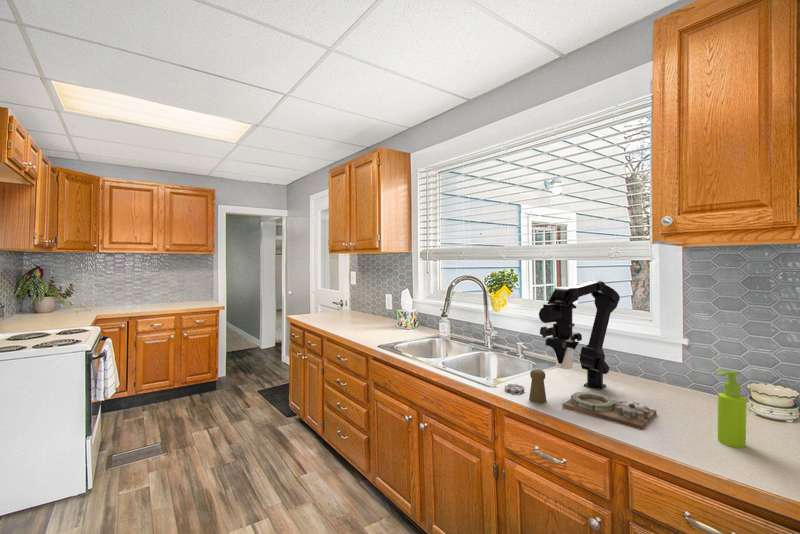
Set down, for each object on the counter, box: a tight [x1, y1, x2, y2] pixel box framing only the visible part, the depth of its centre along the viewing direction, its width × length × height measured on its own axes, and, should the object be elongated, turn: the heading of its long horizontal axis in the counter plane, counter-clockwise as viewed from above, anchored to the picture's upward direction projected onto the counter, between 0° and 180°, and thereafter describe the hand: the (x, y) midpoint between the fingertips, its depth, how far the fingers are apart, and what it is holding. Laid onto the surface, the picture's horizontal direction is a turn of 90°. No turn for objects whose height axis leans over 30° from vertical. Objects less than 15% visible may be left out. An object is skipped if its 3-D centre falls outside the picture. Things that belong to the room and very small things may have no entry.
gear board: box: [562, 391, 657, 431], centre depth 127 cm, size 16×24×4 cm, turn 43°
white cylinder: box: [554, 347, 575, 370], centre depth 143 cm, size 7×7×7 cm
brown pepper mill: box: [528, 368, 548, 404], centre depth 137 cm, size 6×6×11 cm
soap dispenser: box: [716, 369, 747, 449], centre depth 105 cm, size 6×7×20 cm
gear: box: [504, 383, 525, 394], centre depth 147 cm, size 7×7×2 cm
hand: (564, 361), depth 143 cm, fingers closed on white cylinder, 6 cm apart
